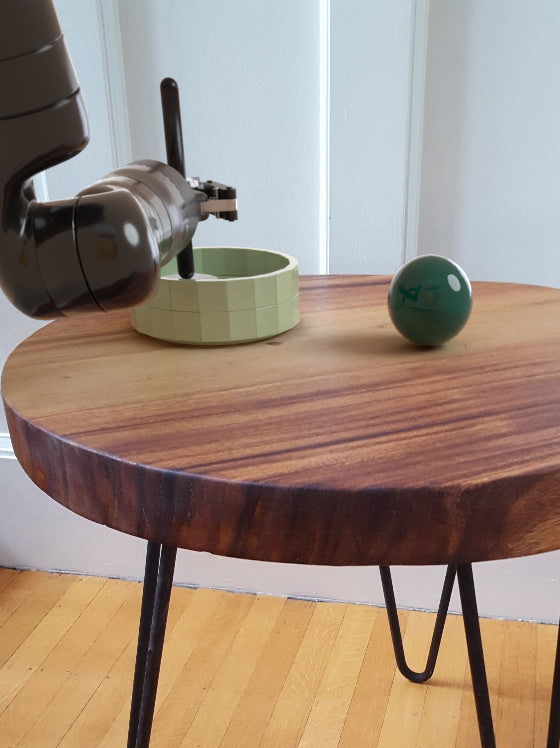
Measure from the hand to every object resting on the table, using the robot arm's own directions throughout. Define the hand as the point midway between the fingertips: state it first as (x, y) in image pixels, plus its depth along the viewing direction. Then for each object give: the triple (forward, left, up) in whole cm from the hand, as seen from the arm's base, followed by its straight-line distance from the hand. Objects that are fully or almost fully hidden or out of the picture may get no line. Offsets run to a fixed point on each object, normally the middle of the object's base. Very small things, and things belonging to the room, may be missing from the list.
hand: (185, 189), depth 90 cm
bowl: (+2, -1, -12) cm, 13 cm away
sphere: (+22, -10, -12) cm, 27 cm away
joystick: (-1, -3, -10) cm, 11 cm away
